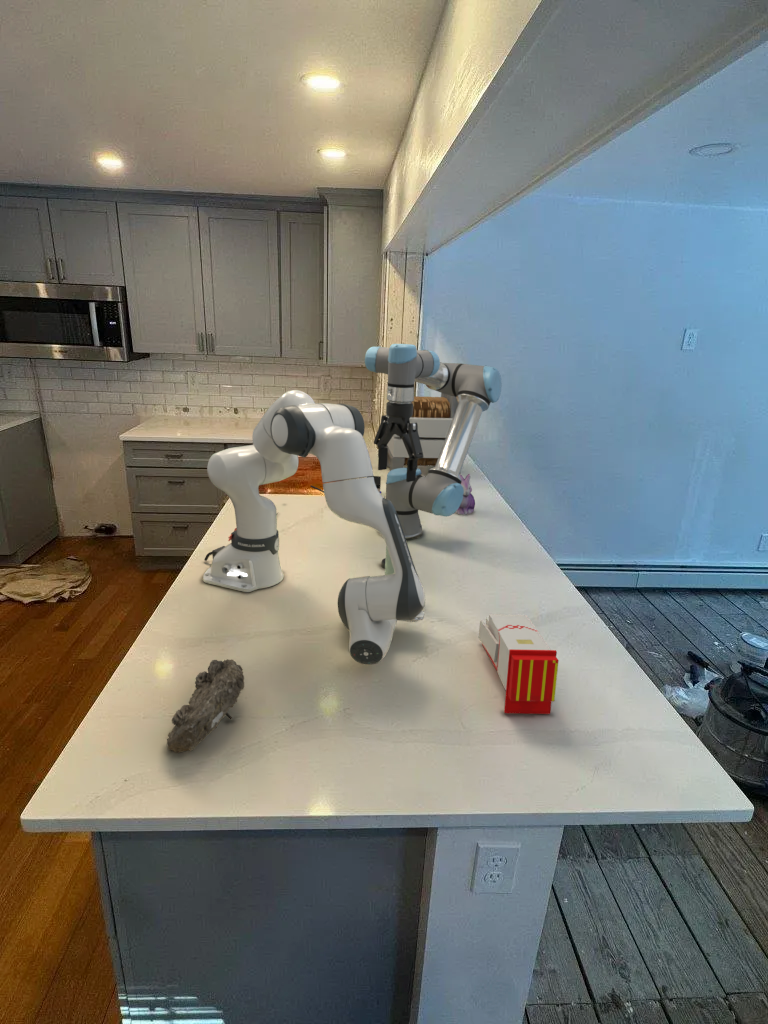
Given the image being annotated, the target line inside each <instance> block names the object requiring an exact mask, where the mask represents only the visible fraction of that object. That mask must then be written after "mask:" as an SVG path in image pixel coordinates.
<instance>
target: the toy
mask: <svg viewBox="0 0 768 1024" xmlns="http://www.w3.org/2000/svg"><path fill="white" fill-rule="evenodd" d="M477 635H478V637H477V638H478V639H479V641H480V643H481V645H482V647H483V649H484V651H485V652H486V654H487V655H488V658H489V659H490V661H491V663H492V665H493V667H494V669H495V671H496V672H497V675H498V677H499V679H500V682H501V684H502V685H503V688H504V690H505V699H504V709H503V712H504V714H522V715H523V714H528V715H535V714H536V715H540V714H541V715H551V710H552V702H555V700H556V699H555V698H556V688H557V679H558V672H559V671H558V669H559V661H560V660H559V659H558V658H557V649H551V648H550V646H549V645H548V643H547V642H546V640H545V639H544V638H543V636H542V635H541V634H540V632H539V630H538V629H536V626H535V624H533V622H532V619H530V618H529V617H528V615H527V614H501V613H500V614H495V613H493V614H492V613H489V614H488V616H486V617H485V622H484V620H483V619H480V620H479V628H478V634H477Z"/></svg>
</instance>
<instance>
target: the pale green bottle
mask: <svg viewBox="0 0 768 1024" xmlns="http://www.w3.org/2000/svg"><path fill="white" fill-rule="evenodd" d="M385 558H386V560H385V569H384V575H390V574H393V573H394V572H395V571H394V568H393V565H392V562H391V559H390V555H389V552H388V549H387V546H386V545H385Z"/></svg>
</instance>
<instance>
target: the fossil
mask: <svg viewBox="0 0 768 1024" xmlns="http://www.w3.org/2000/svg"><path fill="white" fill-rule="evenodd" d="M243 670H244V669H243V667H242V665H240V664H237V662H236V661H235V660H234V659H232V658H231V659H227V658H226V659H224V660H223V661H222V660H217V659H212V660H211V661H210V663H209V665H208V666H207V671H201V672H199V673H198V674H197V675H196V676H195V680H194V684H195V685H194V687H195V689H194V690H193V693H192V694H191V697H190V698H189V700H188V704H184V705H182V706H181V707H180V709H177V710H176V711H175V713H174V715H173V716H172V718H171V723H172V724H173V727H172V730H171V731H170V732H168V734H167V738H166V741H167V742H166V745H167V749H168V750H169V751H173V752H174V753H176V754H178V753H182V752H188V751H189V752H192V751H193V750H195V748H196V747H197V746H199V744H200V743H201V742H203V741H204V740H205V739H206V738H207V737H208V736H209V735H210V734H211V733H212V732H214V730H215V729H217V727H218V726H219V724H220V722H221V721H222V720H223V719H224V718H225V716H226V717H227V719H229V720H233V717H232V715H230V714H229V710H230V709H231V708H234V706H235V704H236V703H237V702H238V699H239V697H240V695H241V693H242V691H243V690H245V689H244V688H245V675H244V671H243Z"/></svg>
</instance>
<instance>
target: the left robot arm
mask: <svg viewBox="0 0 768 1024" xmlns="http://www.w3.org/2000/svg"><path fill="white" fill-rule="evenodd" d="M365 427H366V426H365V421H364V417H363V414H362V412H361V411H360V410H359V409H358V408H357V407H355V406H353V405H350V404H346V403H329V402H328V403H327V402H317V403H316V402H315V400H314V399H313V398H312V397H311V396H310V395H309V394H308V393H307V392H305V391H302V390H299V389H291V390H287V391H285V392H284V393H282V394H281V395H280V396H279V397H278V398H277V399H275V401H274V402H272V403H271V405H270V406H269V407H268V409H267V410H266V411H265V412H264V414H263V415H262V417H261V419H260V420H259V421H258V422H257V423H256V426H255V427H254V428H253V431H252V435H251V437H252V438H251V439H252V444H249V445H243V446H234V447H229V448H226V449H223V450H220V451H217V452H215V453H213V454H212V455H211V456H210V457H209V459H208V462H207V466H206V471H207V476H208V479H209V481H210V482H211V484H212V485H213V486H214V487H215V488H216V489H218V490H220V491H222V492H223V493H224V494H225V495H226V496H227V497H228V498H229V500H230V501H231V503H232V506H233V509H234V516H235V525H236V526H235V528H234V530H233V531H232V532H231V533H230V535H229V536H228V540H227V541H228V542H230V543H229V544H227V545H222V546H220V547H217V548H214V549H213V550H211V551H209V552H208V553H207V554H206V555H205V556H204V559H203V561H205V562H207V561H208V560H209V558H210V556H212V560H211V565H210V567H208V568H207V570H206V571H205V572H204V573H203V577H202V581H203V583H205V584H209V585H214V586H218V587H222V588H227V589H231V590H235V591H239V592H242V593H250V592H251V593H252V592H253V591H256V590H261V589H266V588H270V587H273V586H275V585H278V584H279V583H280V582H282V581H283V579H284V578H285V574H284V571H283V567H282V565H281V561H280V555H279V550H280V538H279V537H280V535H279V530H278V519H277V517H278V514H277V513H278V511H277V507H276V506H277V505H276V504H275V503H274V502H273V500H271V498H268V497H266V496H264V495H261V494H260V491H259V488H260V486H262V485H267V484H272V483H277V482H281V481H283V480H286V479H288V478H290V477H292V476H294V475H295V474H296V473H297V471H298V469H299V463H300V462H299V460H300V459H299V457H302V458H304V459H305V458H307V457H308V455H310V454H311V455H313V456H315V457H316V458H317V459H318V461H319V465H320V473H321V481H322V490H323V491H324V493H323V495H324V499H325V502H326V505H327V507H328V509H329V510H330V511H331V512H332V513H333V514H334V515H335V516H337V517H338V518H340V519H342V520H343V521H346V522H349V523H353V524H357V525H361V526H365V527H368V528H371V529H373V530H375V531H376V532H378V533H379V534H380V535H381V536H382V538H383V540H384V543H385V547H386V546H387V549H388V552H389V555H390V559H391V562H392V565H393V568H394V571H395V572H394V573H393V574H390V575H385V574H382V575H381V574H380V575H372V576H370V575H367V576H357V577H351V578H348V579H347V580H346V581H345V582H344V583H343V584H342V586H341V588H340V590H339V592H338V595H337V611H338V616H339V619H340V621H341V623H342V624H343V625H344V627H345V629H347V631H349V641H348V642H349V643H348V652H349V655H350V656H351V658H352V659H353V660H354V661H355V662H357V663H359V664H361V665H376V664H378V663H380V662H381V661H382V660H383V659H384V658H385V657H386V655H387V653H388V652H389V649H390V647H391V644H392V642H393V637H394V632H395V630H396V627H397V623H398V621H399V622H400V621H401V622H408V623H417V622H420V621H423V620H424V618H425V611H426V595H425V594H426V593H425V589H424V585H423V584H422V582H421V580H420V577H419V574H418V572H417V569H416V566H415V564H414V561H413V558H412V554H411V551H410V548H409V544H408V541H407V540H406V538H405V535H404V532H403V529H402V526H401V523H400V521H399V518H398V515H397V512H396V510H395V508H394V506H393V504H392V503H391V501H390V500H388V499H386V497H384V496H383V495H382V493H379V491H378V489H377V487H376V485H375V482H374V477H371V476H374V470H373V465H372V461H371V457H370V453H369V449H368V446H367V444H366V440H365V438H364V436H365Z"/></svg>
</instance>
